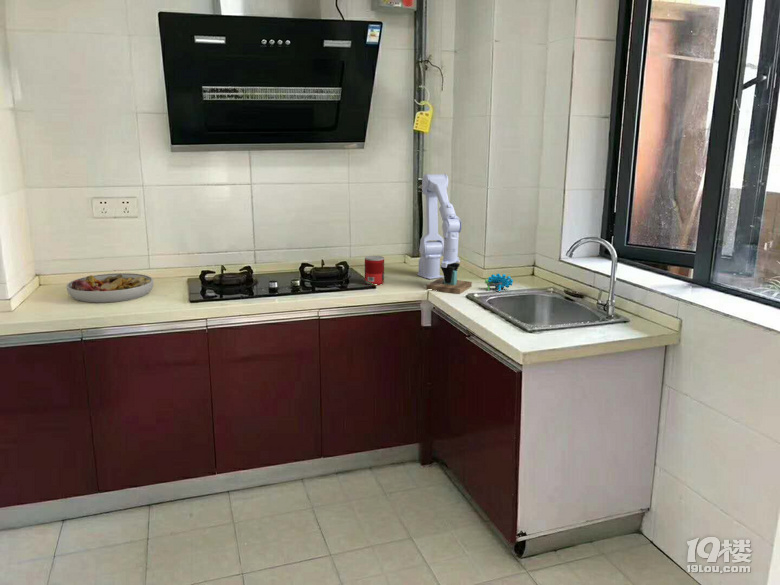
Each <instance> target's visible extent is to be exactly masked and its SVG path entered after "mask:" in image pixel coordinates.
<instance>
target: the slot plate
mask: <svg viewBox="0 0 780 585" xmlns="http://www.w3.org/2000/svg"><path fill="white" fill-rule="evenodd" d="M472 284H473V282H472V281H469V280H460V279H457V284H455V285H448V284H444V277H441V278H436V279H435V280H433V281H432V282H429V283H428V284H426V290H427V289H432V290H431V291H433V290H437V291H436V292H440V291H442V292H443V293H447V292H448V294H456V295H460V294H462V293H464V292H465V291H467V290H468V289H470V288H472Z"/></svg>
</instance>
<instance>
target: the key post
mask: <svg viewBox="0 0 780 585" xmlns="http://www.w3.org/2000/svg"><path fill="white" fill-rule="evenodd" d="M457 280H458V270H457V271H455V270H454V271H453V274H452V279H451V283H445V279H444V284H448V285H455V284H457Z"/></svg>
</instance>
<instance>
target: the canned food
mask: <svg viewBox="0 0 780 585" xmlns="http://www.w3.org/2000/svg"><path fill="white" fill-rule="evenodd" d="M365 280H366V281H368V282H371V283H373V284H377V285H376V286H381V285H380V284H382V285H384V283H385V282H384V281H385V256H381V255H367V256H365V257H364V281H365Z"/></svg>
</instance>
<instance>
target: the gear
mask: <svg viewBox="0 0 780 585" xmlns="http://www.w3.org/2000/svg"><path fill="white" fill-rule="evenodd" d="M513 283H514V279H513V278H511V276H507V275H506V274H505V273H503V274H502V276H501V274H500V273H496V275H495V274H491V275H490V276H488V279H487V278H486V279H484V284H486V286H487V290H489V291H490V287H495V289H497V292H498V291H502V289H501V288H503V289H505V288H507V289H508V288H510V286H513Z"/></svg>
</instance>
